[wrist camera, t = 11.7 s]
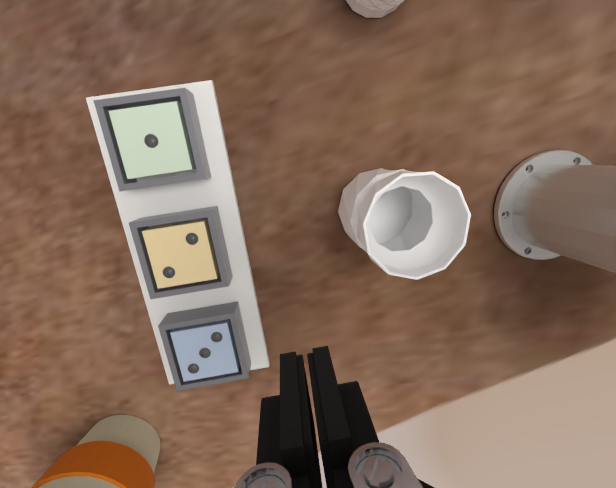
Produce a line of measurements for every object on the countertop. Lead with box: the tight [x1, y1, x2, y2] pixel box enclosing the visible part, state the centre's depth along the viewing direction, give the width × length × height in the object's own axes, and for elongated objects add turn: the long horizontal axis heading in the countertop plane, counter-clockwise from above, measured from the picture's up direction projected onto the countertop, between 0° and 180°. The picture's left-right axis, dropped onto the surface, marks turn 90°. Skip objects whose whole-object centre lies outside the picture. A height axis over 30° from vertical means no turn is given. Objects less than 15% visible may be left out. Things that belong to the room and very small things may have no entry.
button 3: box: [170, 319, 240, 382], centre depth 37 cm, size 6×6×3 cm
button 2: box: [142, 218, 220, 289], centre depth 34 cm, size 6×6×3 cm
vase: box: [338, 168, 471, 280], centre depth 32 cm, size 9×9×12 cm
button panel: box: [86, 80, 270, 391], centre depth 35 cm, size 12×32×4 cm, turn 8°
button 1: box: [109, 101, 196, 179], centre depth 32 cm, size 6×6×3 cm
